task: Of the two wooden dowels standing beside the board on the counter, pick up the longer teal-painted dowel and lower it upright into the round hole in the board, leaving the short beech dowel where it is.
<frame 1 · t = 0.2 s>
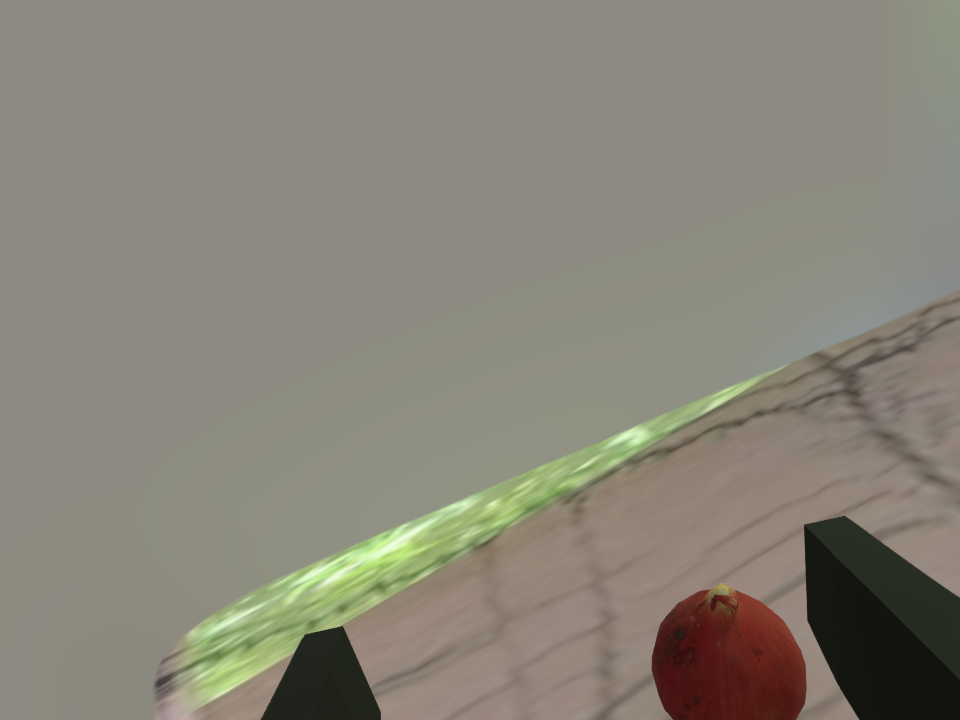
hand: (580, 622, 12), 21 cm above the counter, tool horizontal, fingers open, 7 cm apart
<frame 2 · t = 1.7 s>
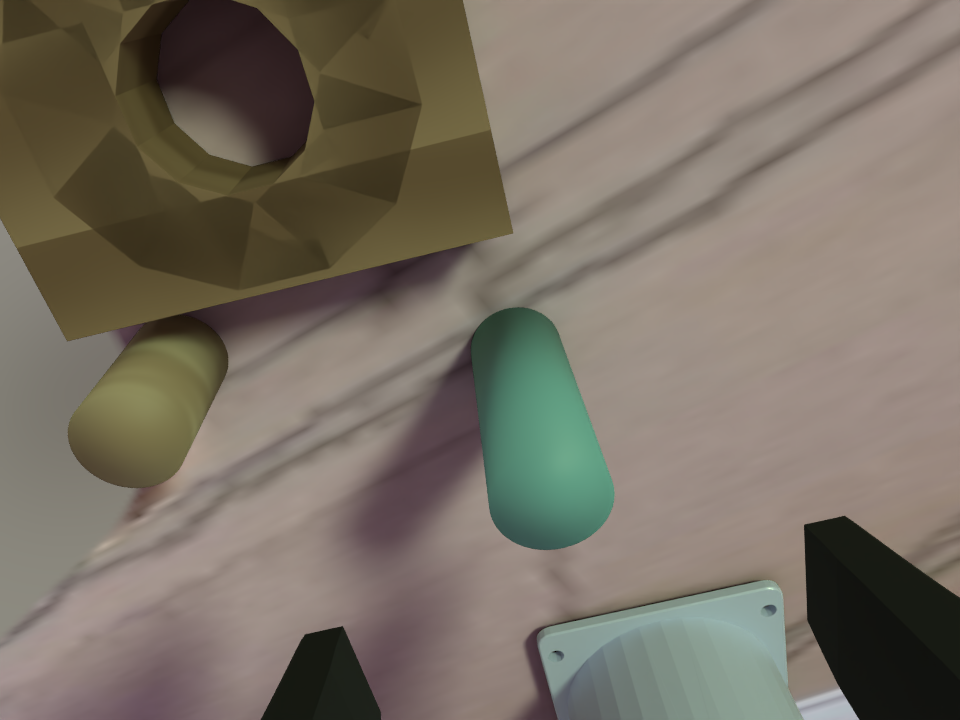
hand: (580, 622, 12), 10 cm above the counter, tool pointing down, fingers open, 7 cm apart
board: (243, 81, 17), on the counter
long dowel: (515, 348, 20), on the counter
short dowel: (180, 356, 20), on the counter
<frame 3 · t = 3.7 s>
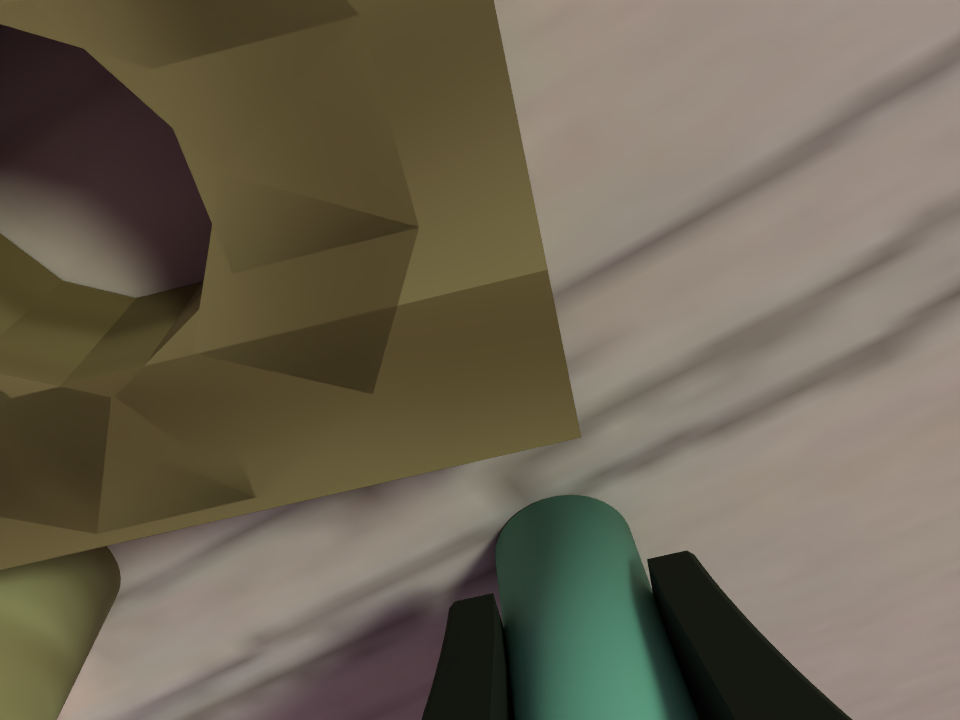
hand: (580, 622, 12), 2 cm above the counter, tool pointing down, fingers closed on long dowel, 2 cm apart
board: (111, 163, 10), on the counter
long dowel: (563, 550, 13), on the counter, touching gripper
short dowel: (45, 571, 13), on the counter
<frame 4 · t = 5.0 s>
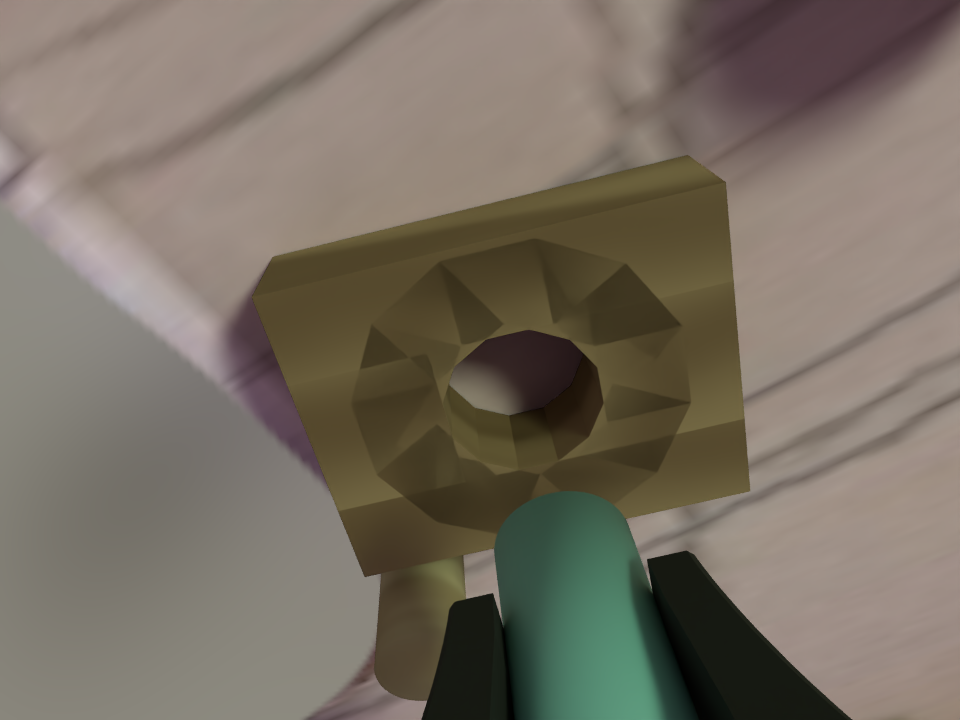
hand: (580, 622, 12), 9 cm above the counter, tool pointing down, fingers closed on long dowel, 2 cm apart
board: (512, 354, 20), on the counter
long dowel: (562, 546, 13), point 7 cm above the counter, touching gripper
short dowel: (422, 558, 23), on the counter
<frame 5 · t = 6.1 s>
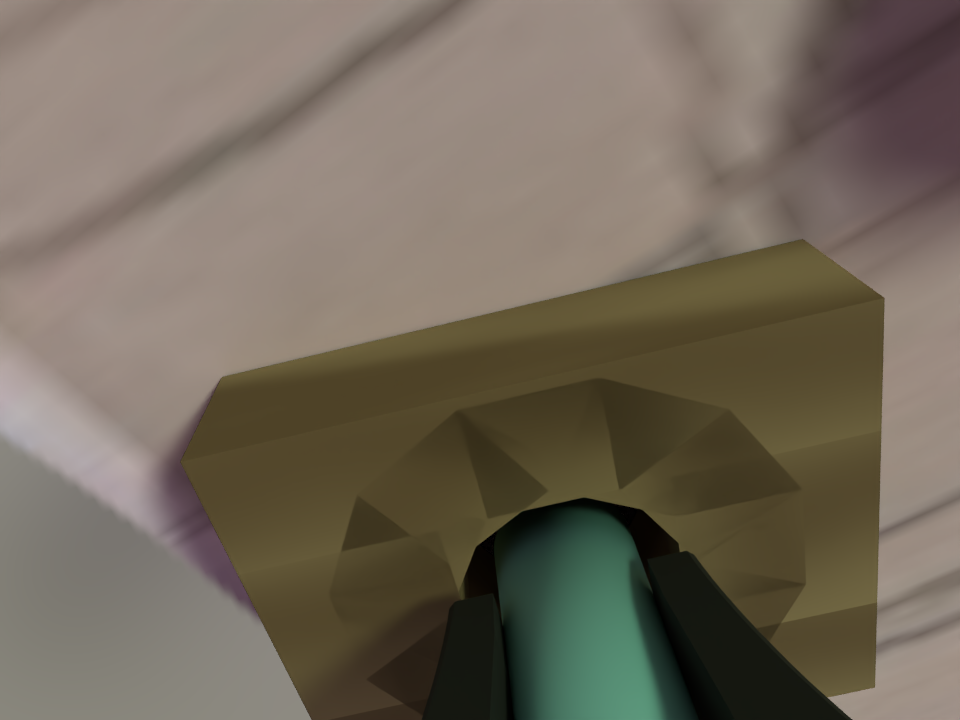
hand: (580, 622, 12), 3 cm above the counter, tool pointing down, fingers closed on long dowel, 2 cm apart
board: (550, 494, 15), on the counter
long dowel: (562, 545, 13), point 1 cm above the counter, touching gripper
when the fingers open (3 cm above the counter, at t = 6.6 s): long dowel drops 1 cm, resting in board.
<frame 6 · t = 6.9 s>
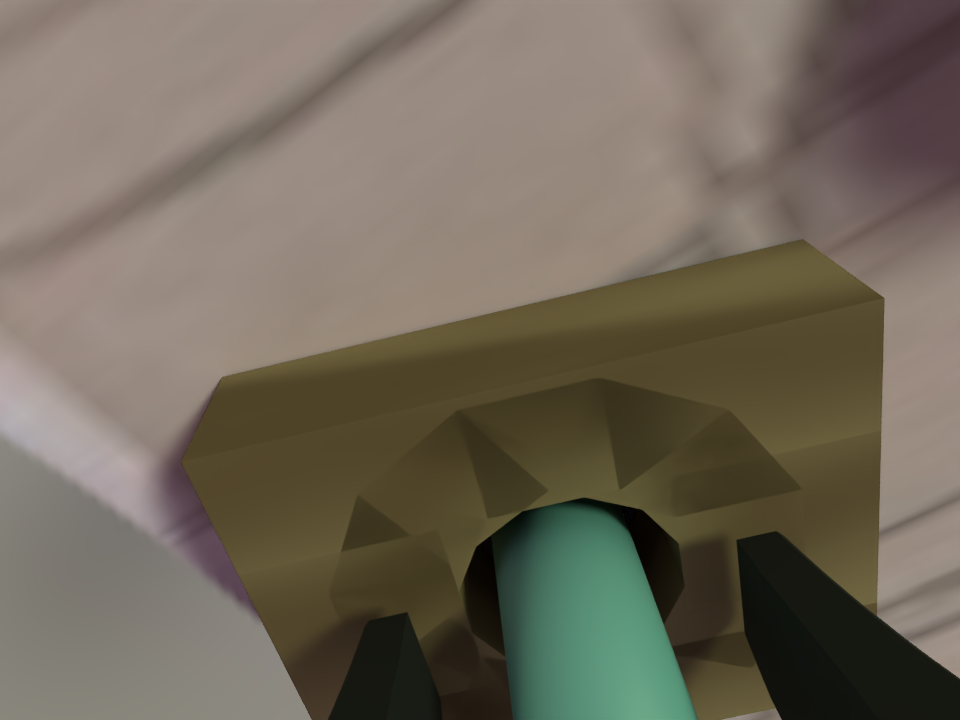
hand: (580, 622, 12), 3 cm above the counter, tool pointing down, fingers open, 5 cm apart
board: (550, 494, 15), on the counter
long dowel: (548, 493, 15), resting in board
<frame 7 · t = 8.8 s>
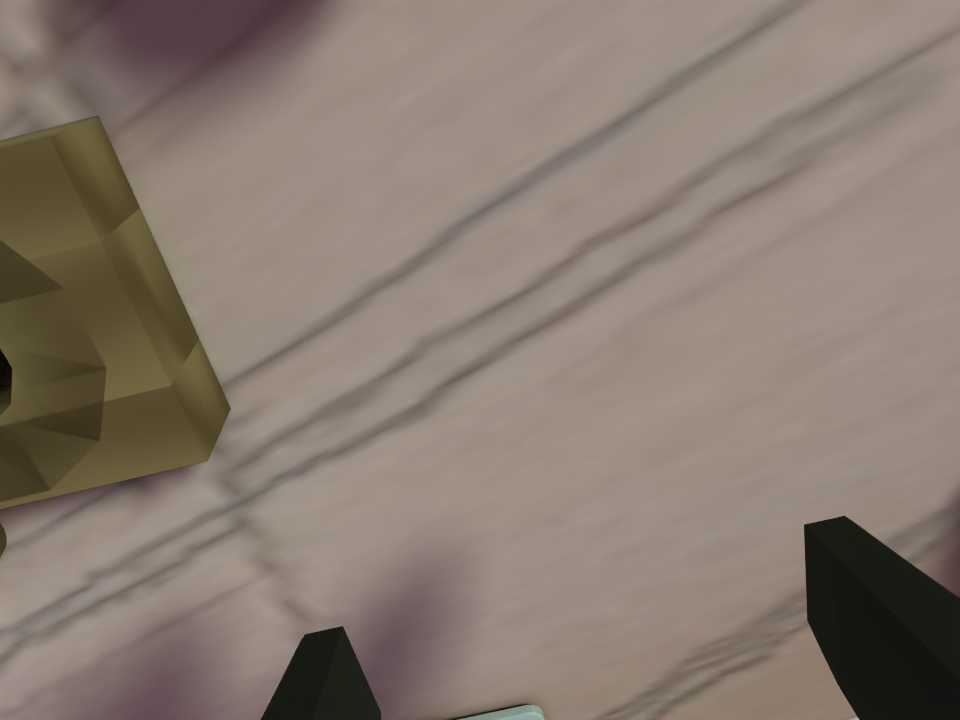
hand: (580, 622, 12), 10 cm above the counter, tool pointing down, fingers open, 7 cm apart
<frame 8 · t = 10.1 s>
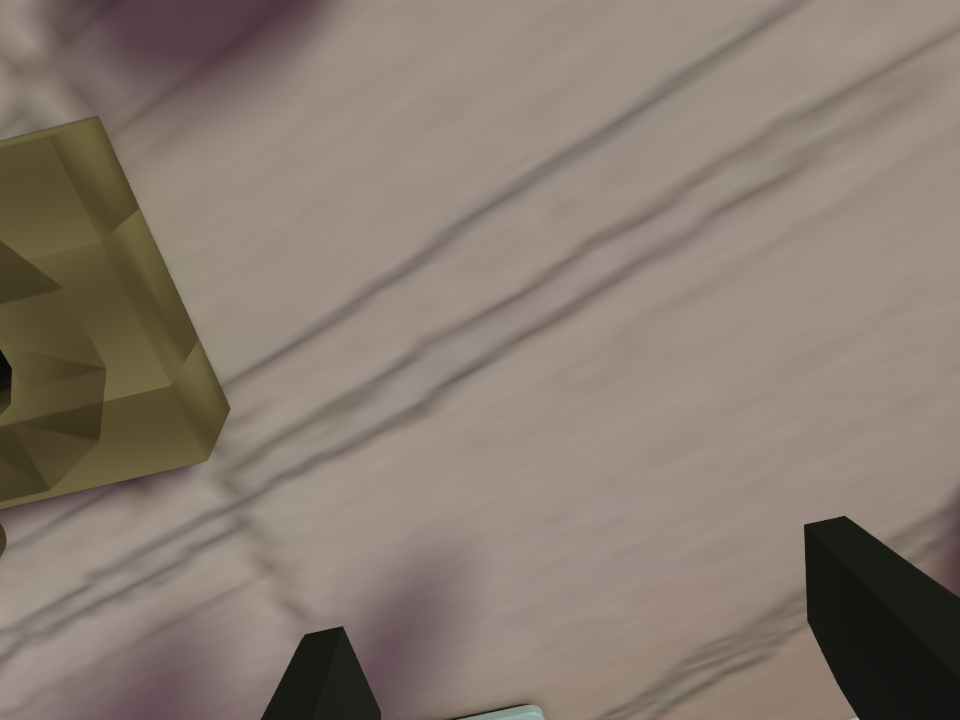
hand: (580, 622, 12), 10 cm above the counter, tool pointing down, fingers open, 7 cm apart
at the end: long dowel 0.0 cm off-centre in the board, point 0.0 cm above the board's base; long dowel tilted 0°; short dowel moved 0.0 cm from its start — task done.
